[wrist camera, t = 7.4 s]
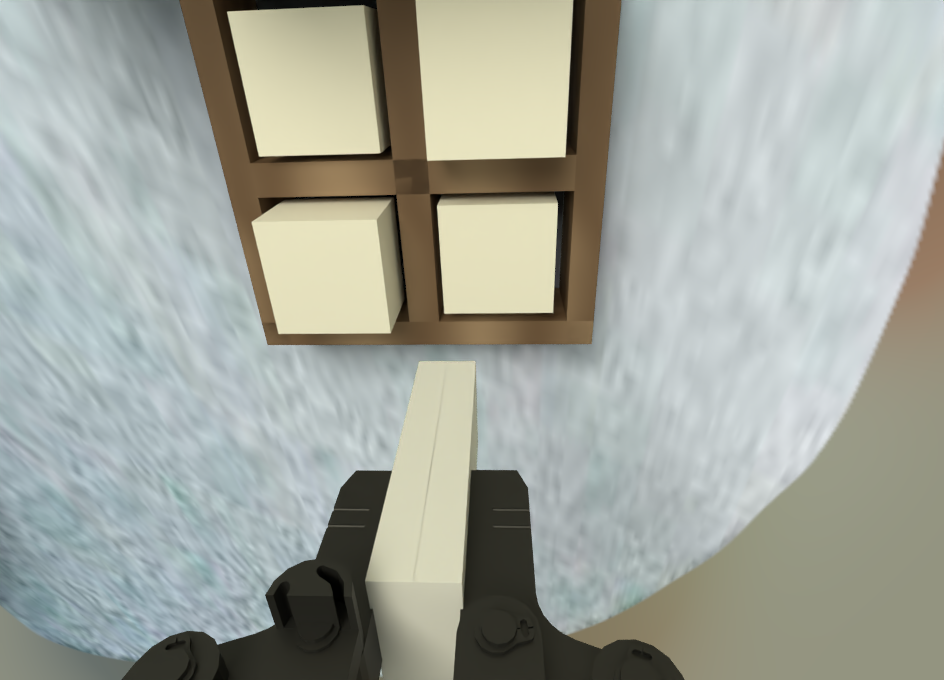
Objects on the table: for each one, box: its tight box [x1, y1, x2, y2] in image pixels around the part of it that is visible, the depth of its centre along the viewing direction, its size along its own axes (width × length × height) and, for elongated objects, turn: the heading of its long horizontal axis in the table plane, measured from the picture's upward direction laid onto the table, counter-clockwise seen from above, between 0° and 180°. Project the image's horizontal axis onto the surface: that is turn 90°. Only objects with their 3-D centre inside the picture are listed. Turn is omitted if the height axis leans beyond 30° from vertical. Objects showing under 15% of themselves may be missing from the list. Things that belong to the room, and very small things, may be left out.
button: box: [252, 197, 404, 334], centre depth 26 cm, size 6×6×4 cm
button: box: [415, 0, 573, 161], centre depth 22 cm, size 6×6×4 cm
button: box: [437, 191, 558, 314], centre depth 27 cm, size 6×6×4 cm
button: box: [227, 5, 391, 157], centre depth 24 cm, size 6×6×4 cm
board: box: [179, 0, 621, 345], centre depth 26 cm, size 18×18×4 cm
